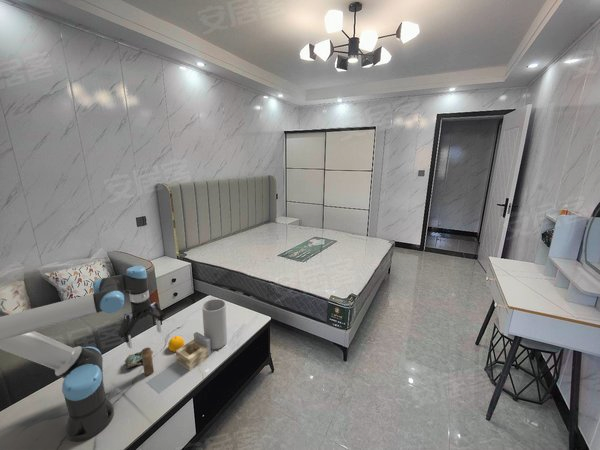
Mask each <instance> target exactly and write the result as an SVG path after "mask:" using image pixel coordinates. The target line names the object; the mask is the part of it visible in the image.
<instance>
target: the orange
mask: <svg viewBox="0 0 600 450" xmlns="http://www.w3.org/2000/svg"><path fill="white" fill-rule="evenodd" d="M167 345H168V349H169V351H171V352H174V353H176V350H178V349H179V348H181V347H183V346H184V345H185V340H184V339H183V337H182V336H180V335H179V336H178V335H177V336H173V337H171V339H169V342H168V344H167Z"/></svg>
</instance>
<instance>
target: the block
mask: <svg viewBox="0 0 600 450" xmlns="http://www.w3.org/2000/svg"><path fill="white" fill-rule="evenodd" d="M175 354H176V355H175V356H176V362H179V363H180V364H181V365H183V366H184V367H186V368H187V369H188V370H190V371H191V369H192V370H193V369H194V368H196V367H197V366H198V365H200V364H201V363H203V361H205V360H206V359H208V358H209V357H208V351H207V347H206V346H205V345H203V344H201V343H200V342H198V341H196V340H195V339H194V338H193V339H191V341H189V342H188V343H185V344H184V345H183V347H181V348H179V349H178V350H176V352H175ZM195 366H196V367H195Z"/></svg>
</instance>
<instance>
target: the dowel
mask: <svg viewBox="0 0 600 450" xmlns="http://www.w3.org/2000/svg"><path fill="white" fill-rule="evenodd" d="M151 351H152V349H151V347H144V348H142V350H141V351H140V352H141V354H142V360H143V364H142V366H143V367H142V368H143V373H144V376H147V377H149V376H151V375H153V374H154V369H155V368H154V363H153V356H152V355H153V354H152V355H151Z"/></svg>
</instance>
